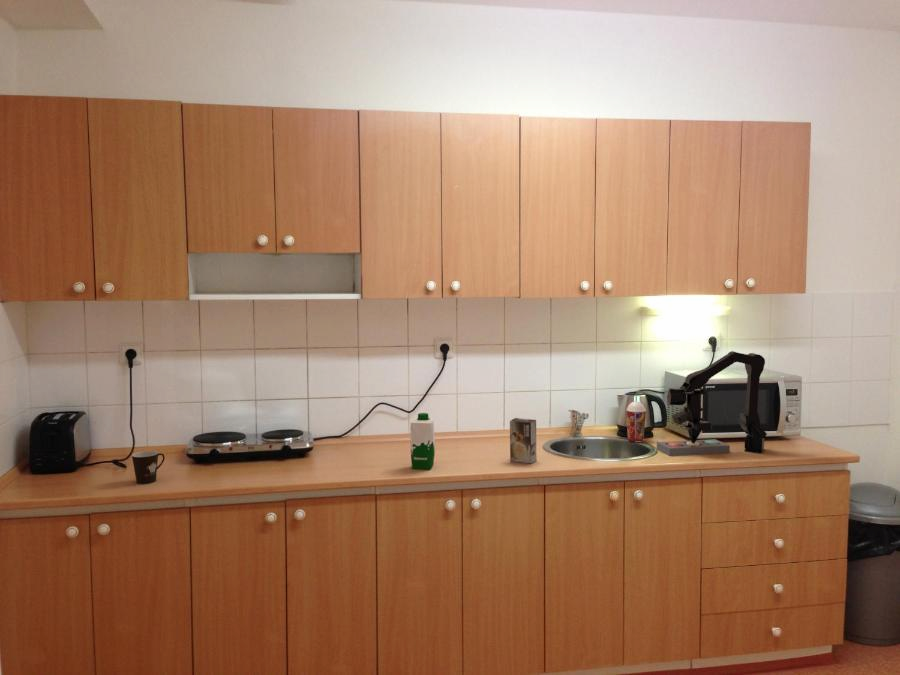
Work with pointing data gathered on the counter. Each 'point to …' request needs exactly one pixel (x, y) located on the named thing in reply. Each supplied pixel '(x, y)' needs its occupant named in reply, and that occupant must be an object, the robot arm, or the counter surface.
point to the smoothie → (635, 420)
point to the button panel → (693, 448)
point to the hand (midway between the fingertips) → (693, 442)
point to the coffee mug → (146, 466)
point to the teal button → (711, 442)
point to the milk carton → (422, 442)
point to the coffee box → (523, 440)
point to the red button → (674, 444)
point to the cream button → (692, 443)
